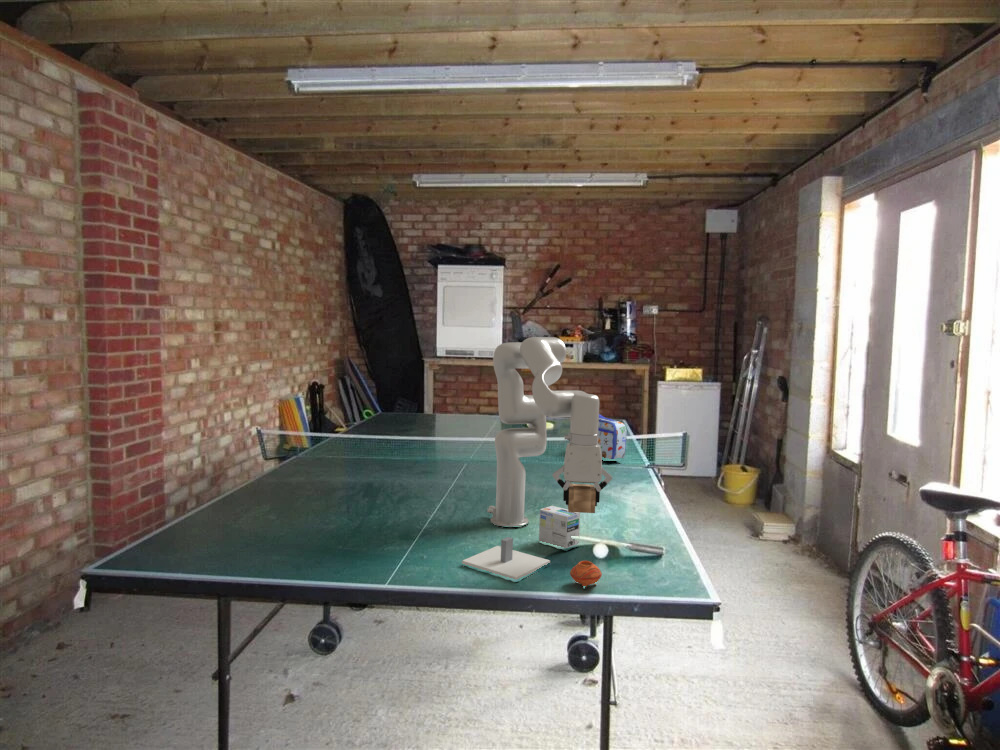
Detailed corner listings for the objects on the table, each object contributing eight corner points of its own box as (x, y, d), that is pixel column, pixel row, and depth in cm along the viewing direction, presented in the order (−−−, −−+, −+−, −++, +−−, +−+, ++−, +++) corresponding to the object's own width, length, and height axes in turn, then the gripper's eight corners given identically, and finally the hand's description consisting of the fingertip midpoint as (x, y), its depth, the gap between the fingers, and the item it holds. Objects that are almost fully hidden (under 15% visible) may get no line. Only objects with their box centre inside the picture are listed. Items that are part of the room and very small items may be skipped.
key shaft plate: (462, 565, 176) (462, 538, 175) (497, 550, 189) (498, 525, 188) (516, 583, 165) (517, 554, 165) (549, 565, 178) (550, 539, 177)
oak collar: (568, 511, 173) (569, 489, 173) (567, 504, 180) (568, 483, 180) (594, 513, 173) (595, 491, 172) (592, 505, 180) (593, 484, 179)
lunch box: (577, 455, 335) (578, 412, 333) (592, 453, 340) (594, 412, 339) (611, 465, 311) (613, 420, 310) (628, 464, 317) (630, 419, 315)
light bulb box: (579, 547, 194) (581, 511, 193) (566, 552, 189) (567, 516, 188) (551, 538, 201) (552, 504, 200) (537, 543, 196) (538, 508, 195)
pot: (603, 592, 160) (598, 566, 160) (572, 596, 162) (567, 570, 161) (604, 579, 168) (599, 554, 168) (574, 583, 169) (569, 558, 169)
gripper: (551, 440, 172) (549, 506, 173) (617, 443, 171) (614, 509, 172) (551, 436, 179) (548, 499, 181) (614, 438, 178) (611, 502, 180)
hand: (581, 503), depth 176 cm, fingers closed on oak collar, 7 cm apart
